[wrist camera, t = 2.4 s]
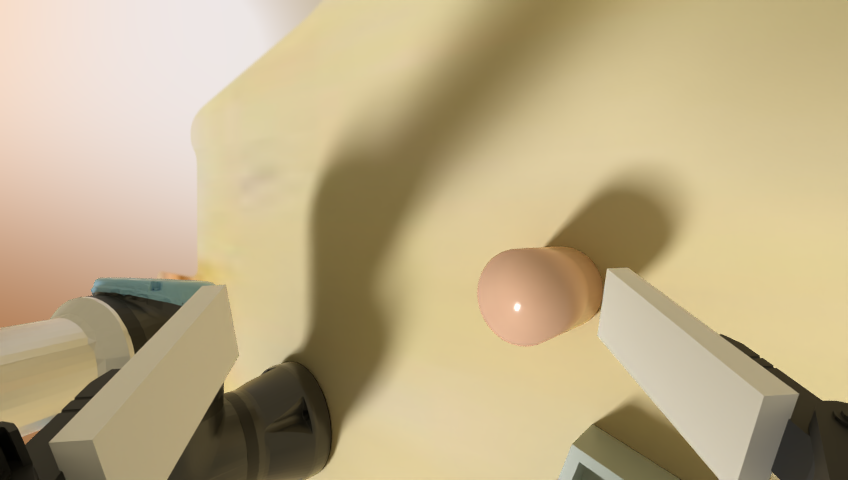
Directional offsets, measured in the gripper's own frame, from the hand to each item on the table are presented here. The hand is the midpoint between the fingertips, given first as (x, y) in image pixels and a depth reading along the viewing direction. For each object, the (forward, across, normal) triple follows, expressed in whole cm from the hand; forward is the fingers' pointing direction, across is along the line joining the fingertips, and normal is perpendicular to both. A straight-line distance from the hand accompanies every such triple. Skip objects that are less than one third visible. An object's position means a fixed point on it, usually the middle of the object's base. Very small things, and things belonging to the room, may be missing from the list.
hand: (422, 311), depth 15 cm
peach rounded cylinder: (+16, -12, +7) cm, 21 cm away
